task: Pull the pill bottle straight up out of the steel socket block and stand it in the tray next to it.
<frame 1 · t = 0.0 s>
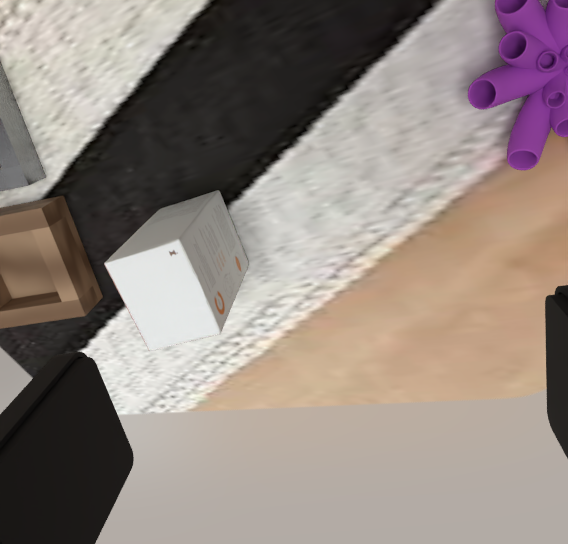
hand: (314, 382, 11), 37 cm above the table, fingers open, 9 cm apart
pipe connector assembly: (545, 67, 41), on the table
tray: (35, 256, 52), on the table
small box: (205, 236, 50), on the table
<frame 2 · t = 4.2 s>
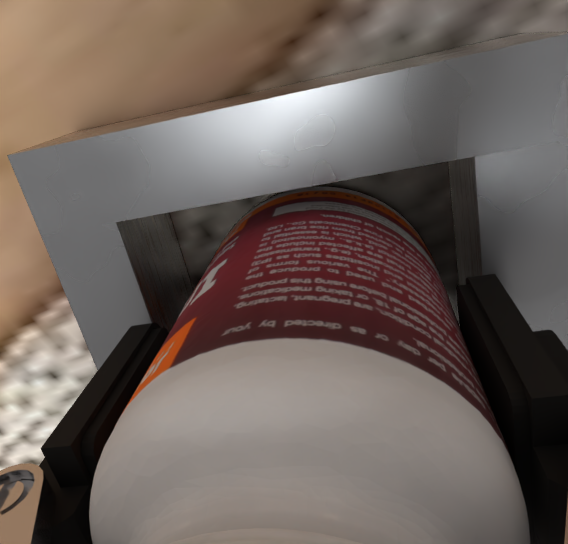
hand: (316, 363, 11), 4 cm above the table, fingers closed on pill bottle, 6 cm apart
pill bottle: (322, 286, 15), resting in socket block, touching gripper
socket block: (322, 288, 15), on the table
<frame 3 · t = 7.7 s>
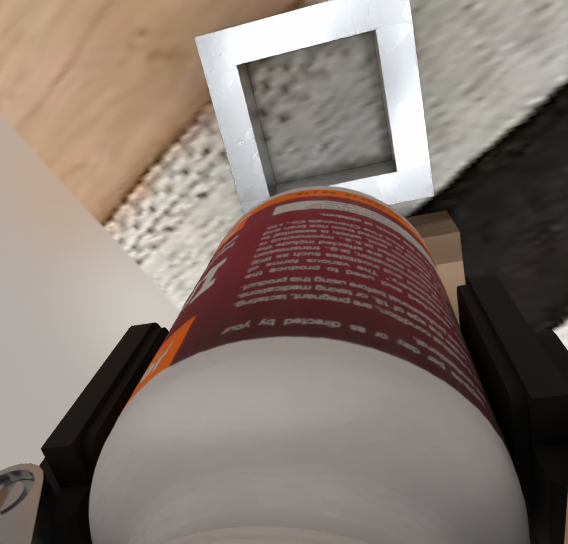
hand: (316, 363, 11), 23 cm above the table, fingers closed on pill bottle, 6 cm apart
pill bottle: (322, 285, 15), point 19 cm above the table, touching gripper
tray: (373, 300, 36), on the table
socket block: (320, 112, 31), on the table
when the fingers open (5 cm above the table, at t = 11.3 s): pill bottle stays where it is, resting on tray.
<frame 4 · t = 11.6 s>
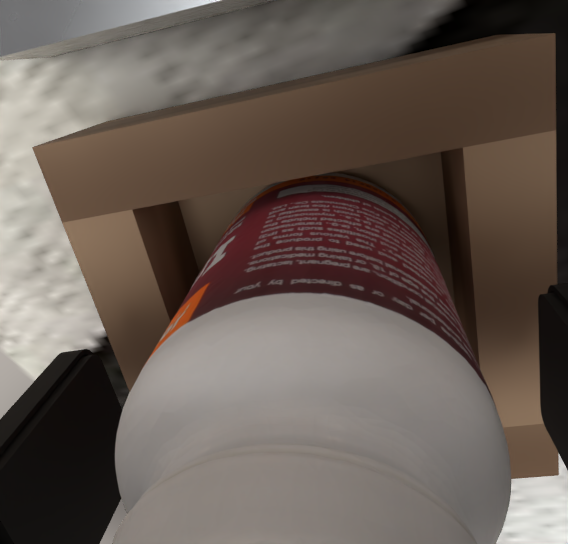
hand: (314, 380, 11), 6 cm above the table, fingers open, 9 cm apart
pill bottle: (323, 268, 15), point 1 cm above the table, touching tray
tray: (323, 262, 16), on the table
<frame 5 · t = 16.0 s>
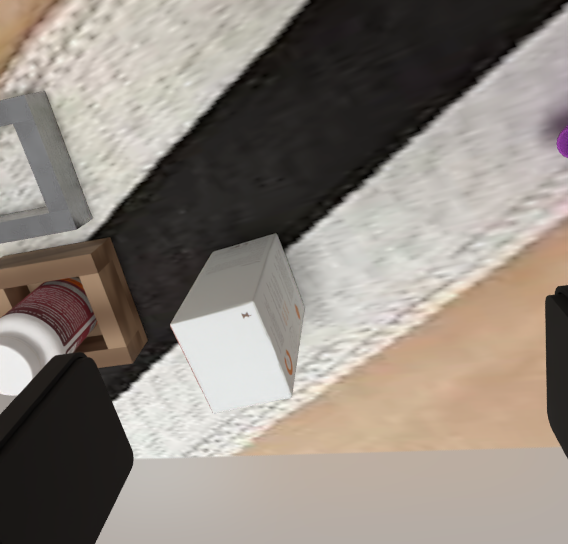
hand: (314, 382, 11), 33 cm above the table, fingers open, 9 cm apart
pill bottle: (73, 301, 49), point 1 cm above the table, touching tray
tray: (77, 299, 50), on the table
small box: (259, 279, 47), on the table
socket block: (13, 169, 45), on the table
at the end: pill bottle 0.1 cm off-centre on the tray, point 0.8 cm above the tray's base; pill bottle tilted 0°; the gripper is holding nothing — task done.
